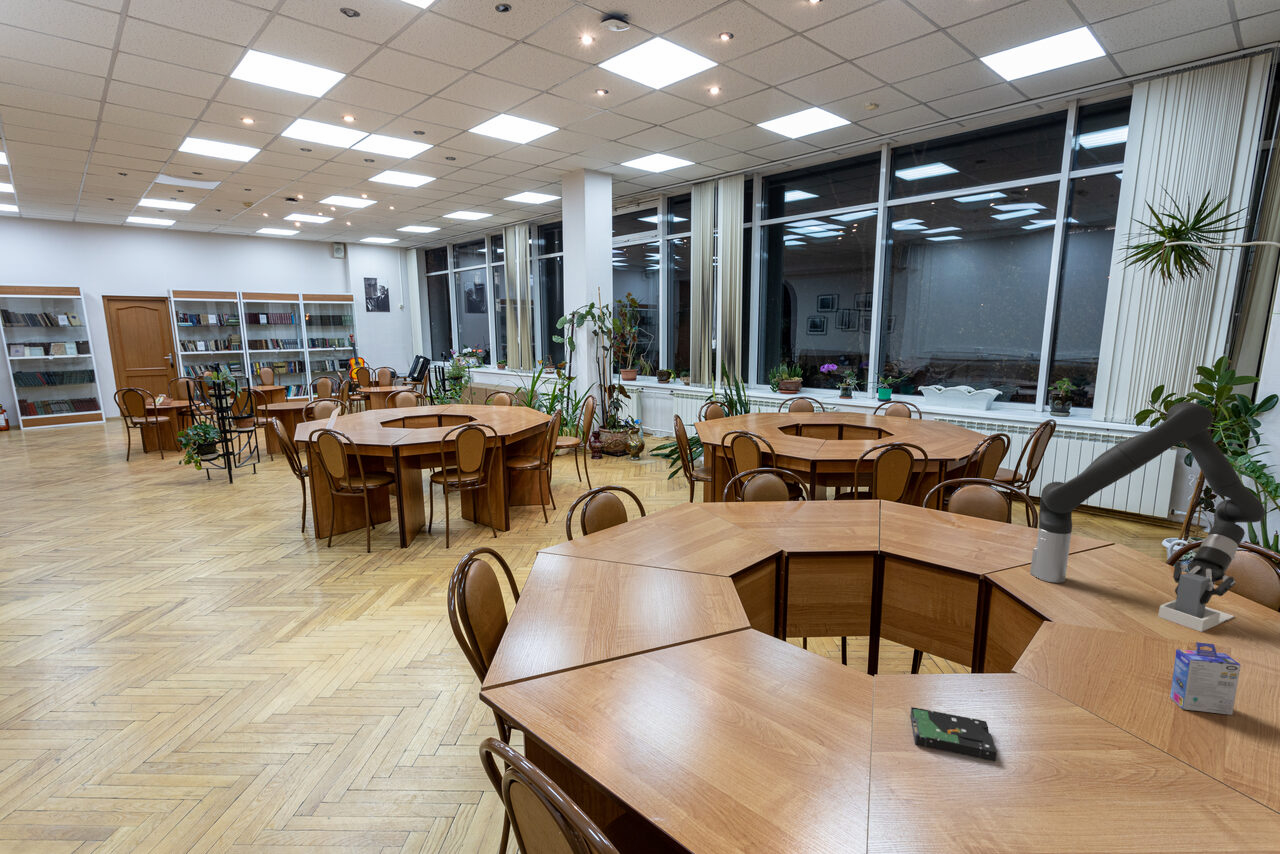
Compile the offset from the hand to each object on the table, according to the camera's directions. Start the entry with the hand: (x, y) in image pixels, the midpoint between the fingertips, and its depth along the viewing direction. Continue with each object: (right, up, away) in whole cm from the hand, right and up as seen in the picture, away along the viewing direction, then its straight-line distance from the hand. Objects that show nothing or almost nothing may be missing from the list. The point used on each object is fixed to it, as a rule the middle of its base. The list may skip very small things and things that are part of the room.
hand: (1189, 598), depth 177 cm
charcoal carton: (+1, -5, +1) cm, 5 cm away
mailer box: (+5, -7, +4) cm, 9 cm away
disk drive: (-96, -15, -51) cm, 109 cm away
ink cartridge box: (-33, -13, -39) cm, 53 cm away
